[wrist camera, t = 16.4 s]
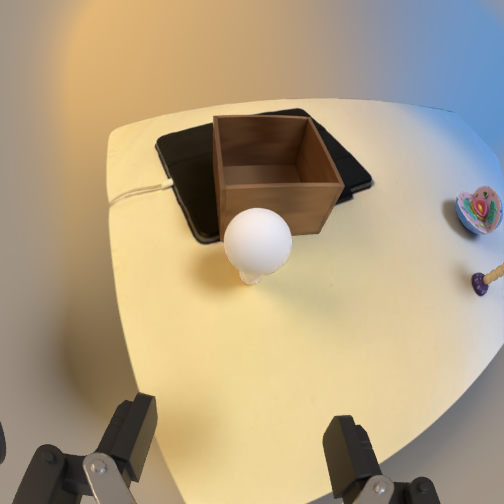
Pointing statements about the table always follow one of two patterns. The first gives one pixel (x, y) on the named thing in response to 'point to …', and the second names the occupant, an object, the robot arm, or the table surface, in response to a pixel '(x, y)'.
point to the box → (273, 170)
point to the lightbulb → (257, 243)
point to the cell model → (480, 210)
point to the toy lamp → (486, 279)
